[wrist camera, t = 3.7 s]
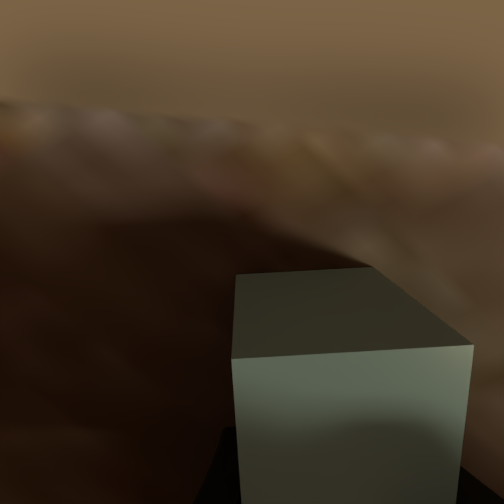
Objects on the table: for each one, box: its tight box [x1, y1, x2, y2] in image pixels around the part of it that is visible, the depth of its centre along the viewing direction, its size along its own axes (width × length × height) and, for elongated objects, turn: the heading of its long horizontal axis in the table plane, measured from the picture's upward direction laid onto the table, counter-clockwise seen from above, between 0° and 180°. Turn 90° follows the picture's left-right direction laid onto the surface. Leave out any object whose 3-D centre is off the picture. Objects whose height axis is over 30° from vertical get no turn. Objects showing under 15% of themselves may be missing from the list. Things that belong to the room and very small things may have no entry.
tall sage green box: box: [231, 267, 474, 504], centre depth 10 cm, size 4×11×5 cm, turn 3°
